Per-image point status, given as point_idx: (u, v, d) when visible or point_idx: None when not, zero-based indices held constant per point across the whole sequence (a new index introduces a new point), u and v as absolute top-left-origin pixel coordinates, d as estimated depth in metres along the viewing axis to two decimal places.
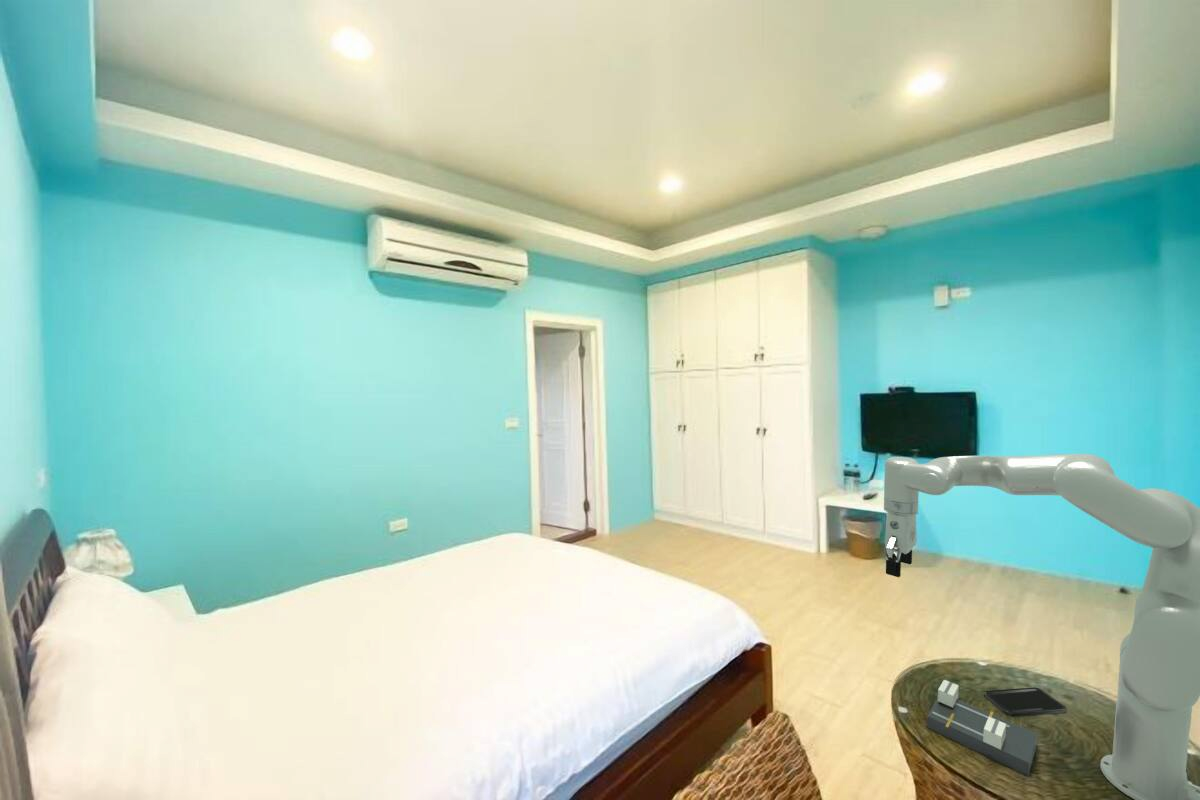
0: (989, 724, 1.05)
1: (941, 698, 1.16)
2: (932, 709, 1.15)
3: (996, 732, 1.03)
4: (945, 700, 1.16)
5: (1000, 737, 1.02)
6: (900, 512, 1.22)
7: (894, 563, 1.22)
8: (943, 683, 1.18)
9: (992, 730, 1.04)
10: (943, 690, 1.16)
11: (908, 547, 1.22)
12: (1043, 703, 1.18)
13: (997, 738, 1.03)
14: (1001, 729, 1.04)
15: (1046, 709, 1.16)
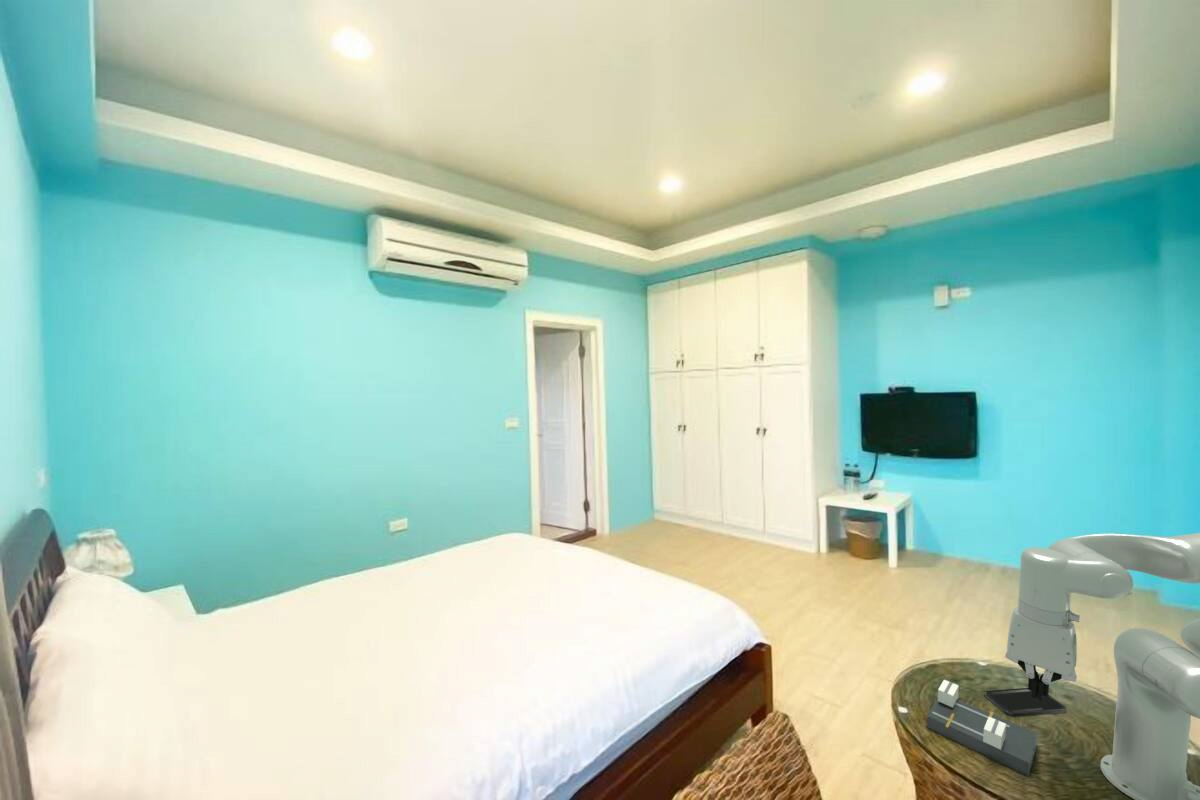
0: (989, 724, 1.05)
1: (941, 698, 1.16)
2: (932, 709, 1.15)
3: (996, 732, 1.03)
4: (945, 700, 1.16)
5: (1000, 737, 1.02)
6: None
7: None
8: (943, 683, 1.18)
9: (992, 730, 1.04)
10: (943, 690, 1.16)
11: None
12: (1043, 703, 1.18)
13: (997, 738, 1.03)
14: (1001, 729, 1.04)
15: (1046, 709, 1.16)
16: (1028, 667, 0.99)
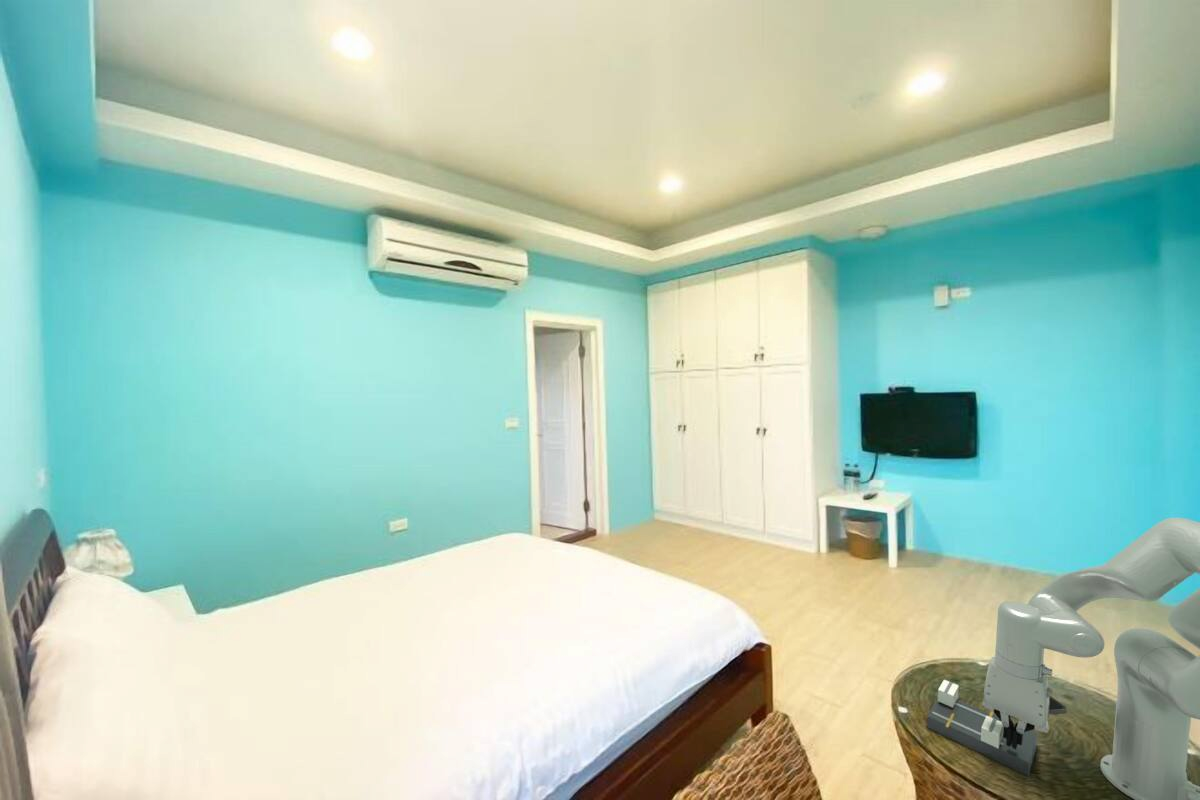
0: (986, 723, 1.06)
1: (941, 698, 1.16)
2: (932, 709, 1.15)
3: (994, 731, 1.04)
4: (945, 700, 1.16)
5: (998, 736, 1.03)
6: None
7: None
8: (943, 683, 1.18)
9: (989, 729, 1.04)
10: (943, 690, 1.16)
11: None
12: None
13: (995, 737, 1.03)
14: (999, 728, 1.04)
15: None
16: (1003, 716, 1.02)
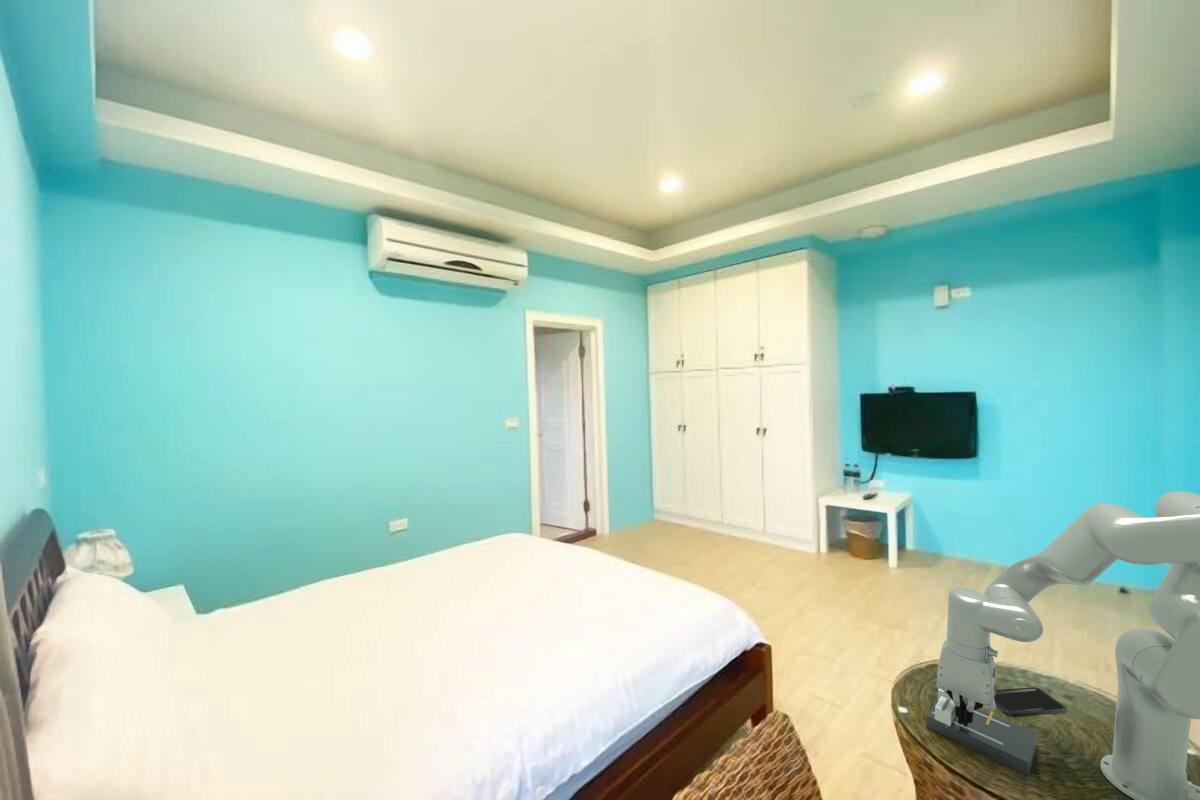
0: (940, 703, 1.12)
1: None
2: (932, 709, 1.15)
3: (946, 710, 1.10)
4: None
5: (949, 714, 1.09)
6: None
7: None
8: None
9: (942, 708, 1.10)
10: None
11: None
12: (1043, 703, 1.18)
13: (947, 715, 1.09)
14: (951, 707, 1.11)
15: (1046, 709, 1.16)
16: (955, 696, 1.09)
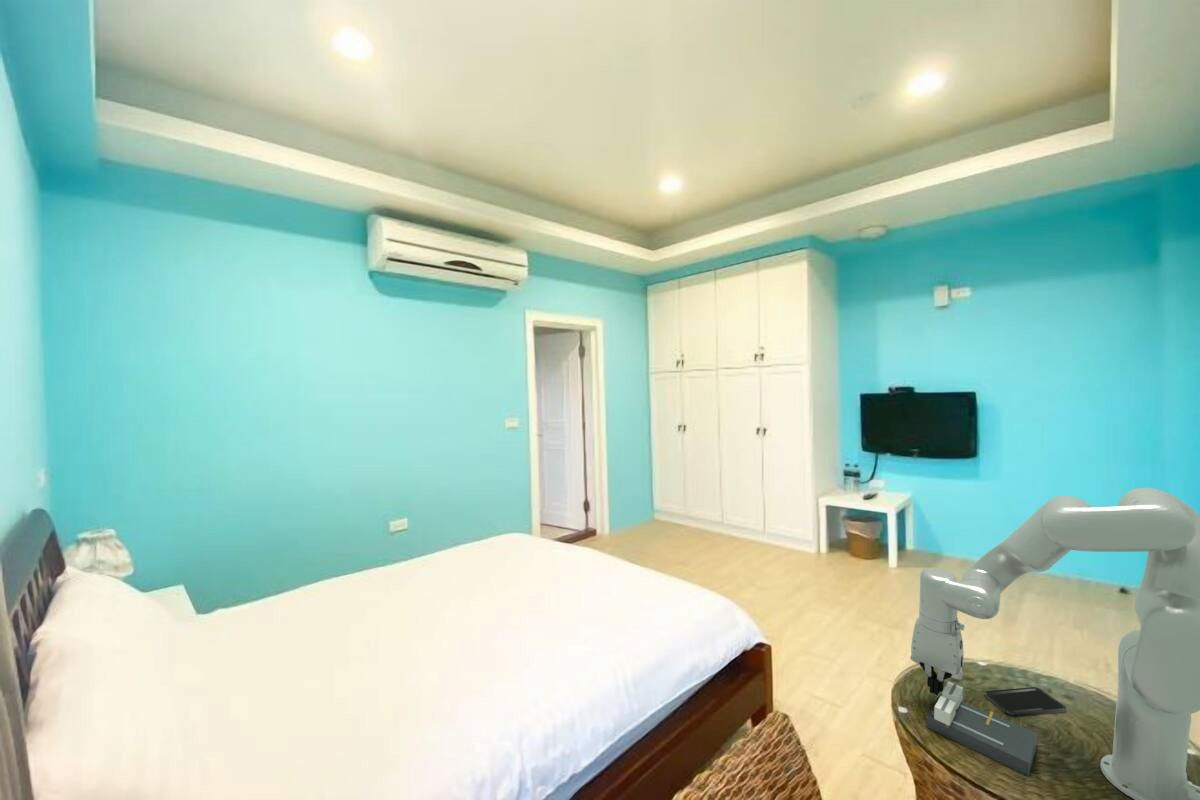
0: (939, 703, 1.12)
1: None
2: (932, 709, 1.15)
3: (946, 709, 1.10)
4: None
5: (949, 714, 1.09)
6: None
7: None
8: (947, 685, 1.18)
9: (942, 708, 1.11)
10: (947, 691, 1.16)
11: None
12: (1043, 703, 1.18)
13: (946, 715, 1.09)
14: (950, 707, 1.11)
15: (1046, 709, 1.16)
16: (927, 667, 1.19)
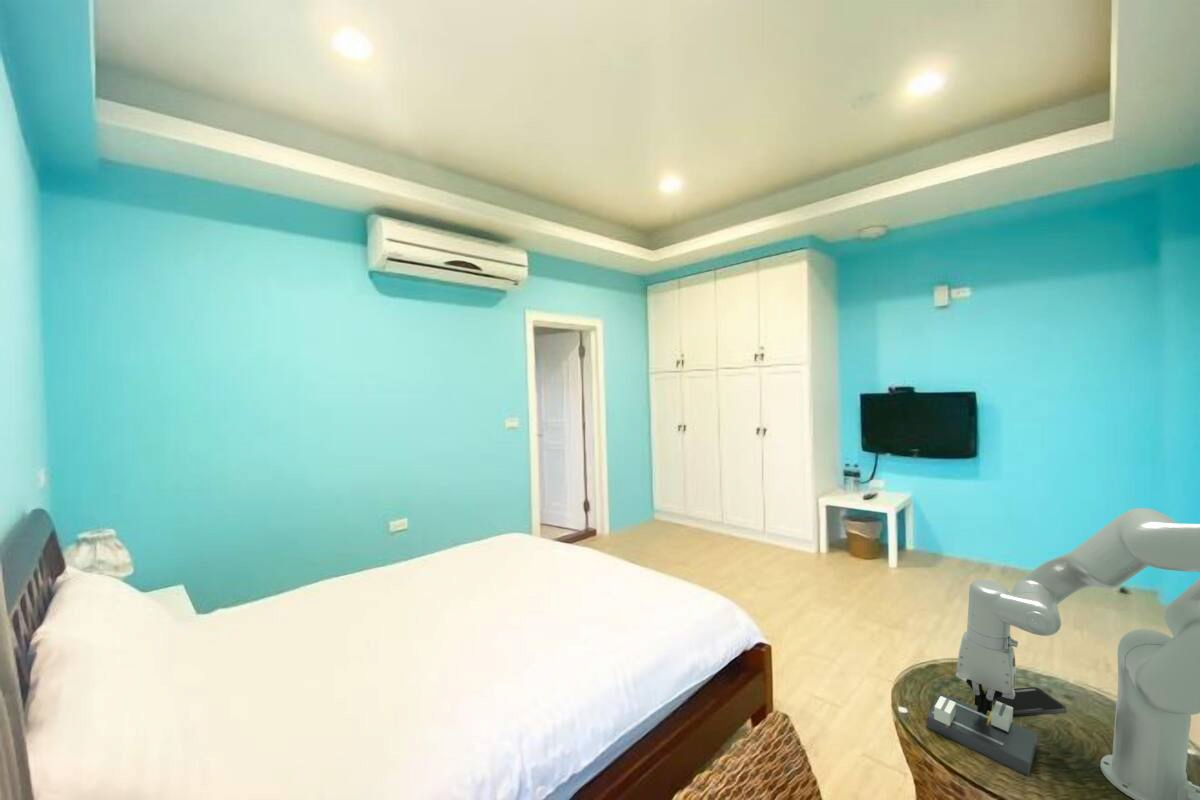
0: (939, 703, 1.12)
1: (995, 721, 1.09)
2: (932, 709, 1.15)
3: (946, 709, 1.10)
4: (999, 723, 1.08)
5: (949, 714, 1.09)
6: None
7: None
8: (996, 705, 1.11)
9: (942, 708, 1.11)
10: (997, 712, 1.09)
11: None
12: (1043, 703, 1.18)
13: (946, 715, 1.09)
14: (950, 707, 1.11)
15: (1046, 709, 1.17)
16: (974, 685, 1.12)
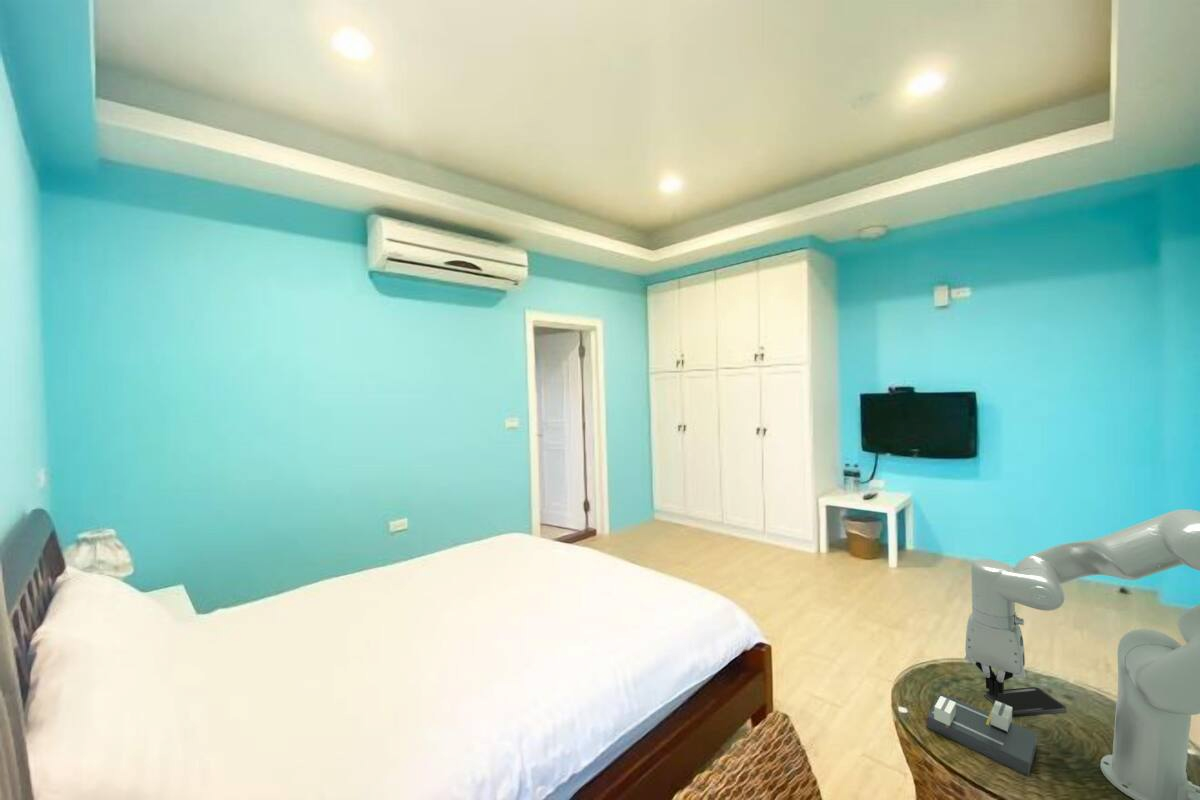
0: (939, 703, 1.12)
1: (994, 721, 1.09)
2: (932, 709, 1.15)
3: (946, 709, 1.10)
4: (998, 723, 1.08)
5: (949, 714, 1.09)
6: None
7: (1003, 680, 1.09)
8: (995, 704, 1.11)
9: (942, 708, 1.11)
10: (996, 712, 1.09)
11: None
12: (1043, 703, 1.18)
13: (946, 715, 1.09)
14: (950, 707, 1.11)
15: (1046, 709, 1.17)
16: (984, 667, 1.10)
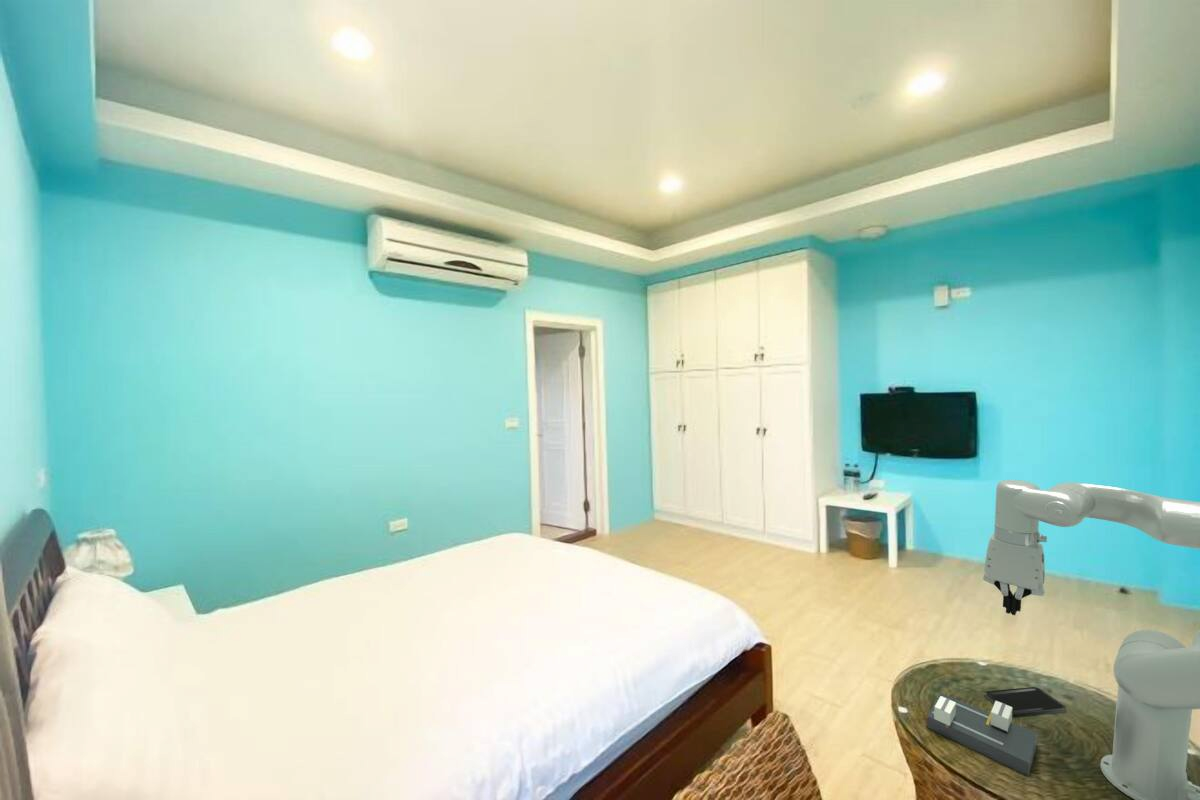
0: (939, 703, 1.12)
1: (994, 721, 1.09)
2: (932, 709, 1.15)
3: (946, 709, 1.10)
4: (998, 723, 1.08)
5: (949, 714, 1.09)
6: None
7: None
8: (995, 704, 1.11)
9: (942, 708, 1.11)
10: (996, 712, 1.09)
11: None
12: (1043, 703, 1.18)
13: (946, 715, 1.09)
14: (950, 707, 1.11)
15: (1046, 709, 1.17)
16: (1003, 586, 1.11)
